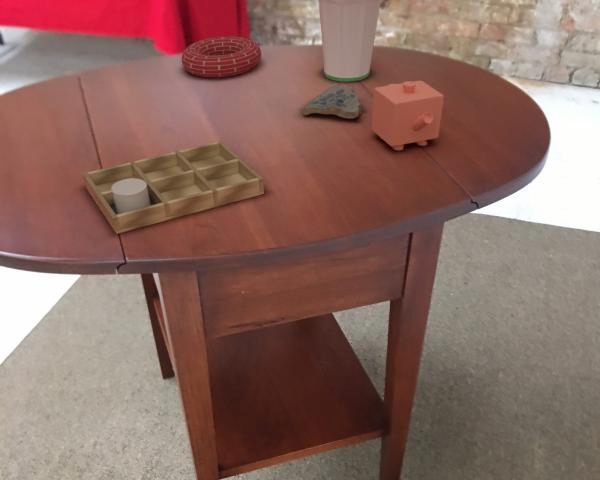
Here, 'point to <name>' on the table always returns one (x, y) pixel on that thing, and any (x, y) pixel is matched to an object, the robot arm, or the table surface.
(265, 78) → the table surface
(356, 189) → the table surface
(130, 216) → the compartment tray
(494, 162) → the table surface
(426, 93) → the pink cube teapot
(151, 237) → the table surface
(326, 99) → the ceramic fragment
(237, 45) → the torus
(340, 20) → the cup
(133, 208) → the grey squat cylinder
